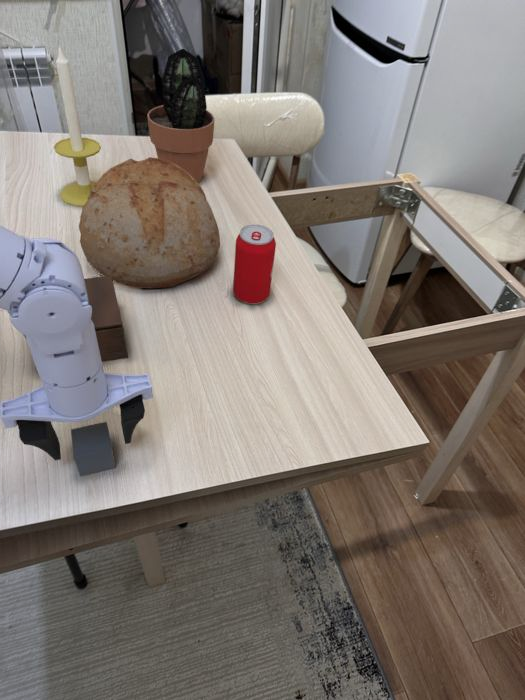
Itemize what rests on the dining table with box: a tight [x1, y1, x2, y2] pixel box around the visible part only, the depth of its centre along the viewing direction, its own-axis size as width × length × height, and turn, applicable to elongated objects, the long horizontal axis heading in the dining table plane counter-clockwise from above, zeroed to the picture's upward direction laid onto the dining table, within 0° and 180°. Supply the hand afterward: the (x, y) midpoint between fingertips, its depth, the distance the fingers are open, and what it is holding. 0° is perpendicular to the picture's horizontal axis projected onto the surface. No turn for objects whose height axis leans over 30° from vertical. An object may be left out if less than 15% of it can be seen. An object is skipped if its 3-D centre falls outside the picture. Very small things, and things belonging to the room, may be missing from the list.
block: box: [70, 421, 116, 477], centre depth 56 cm, size 4×4×4 cm
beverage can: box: [232, 223, 277, 305], centre depth 78 cm, size 6×6×12 cm
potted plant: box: [146, 48, 216, 184], centre depth 100 cm, size 14×14×25 cm
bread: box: [78, 156, 221, 289], centre depth 83 cm, size 26×23×15 cm
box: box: [84, 275, 129, 363], centre depth 69 cm, size 12×11×7 cm
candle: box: [53, 43, 102, 207], centre depth 90 cm, size 10×10×27 cm
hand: (92, 444), depth 56 cm, fingers open, 7 cm apart
